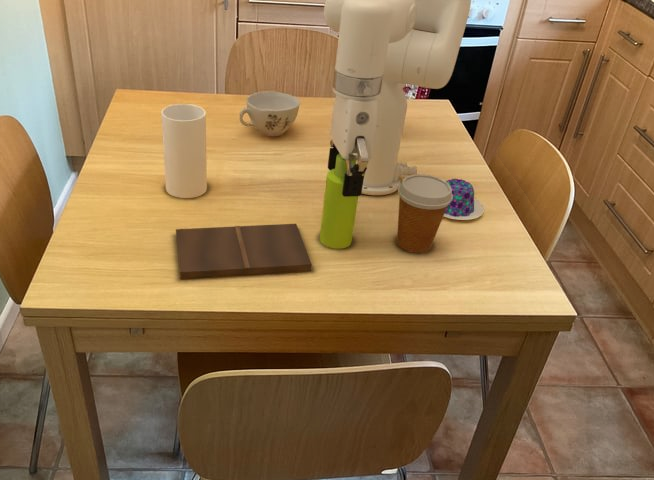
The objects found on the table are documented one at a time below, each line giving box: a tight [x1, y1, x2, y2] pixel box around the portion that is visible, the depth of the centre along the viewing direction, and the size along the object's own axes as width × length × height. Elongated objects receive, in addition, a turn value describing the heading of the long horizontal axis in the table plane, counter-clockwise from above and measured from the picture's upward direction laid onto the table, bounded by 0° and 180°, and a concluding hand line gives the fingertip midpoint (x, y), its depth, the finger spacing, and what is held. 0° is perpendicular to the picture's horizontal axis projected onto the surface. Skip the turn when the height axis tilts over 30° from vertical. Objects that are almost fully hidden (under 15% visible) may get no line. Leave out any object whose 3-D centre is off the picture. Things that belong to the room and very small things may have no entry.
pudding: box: [443, 178, 485, 221], centre depth 126 cm, size 12×12×5 cm
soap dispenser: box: [319, 153, 359, 250], centre depth 109 cm, size 6×7×20 cm
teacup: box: [238, 90, 301, 137], centre depth 148 cm, size 15×12×8 cm
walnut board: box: [175, 223, 313, 280], centre depth 109 cm, size 22×13×2 cm, turn 101°
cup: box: [160, 103, 208, 199], centre depth 122 cm, size 8×8×16 cm
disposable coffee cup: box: [396, 173, 453, 254], centre depth 112 cm, size 10×10×12 cm
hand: (343, 182), depth 108 cm, fingers open, 9 cm apart
